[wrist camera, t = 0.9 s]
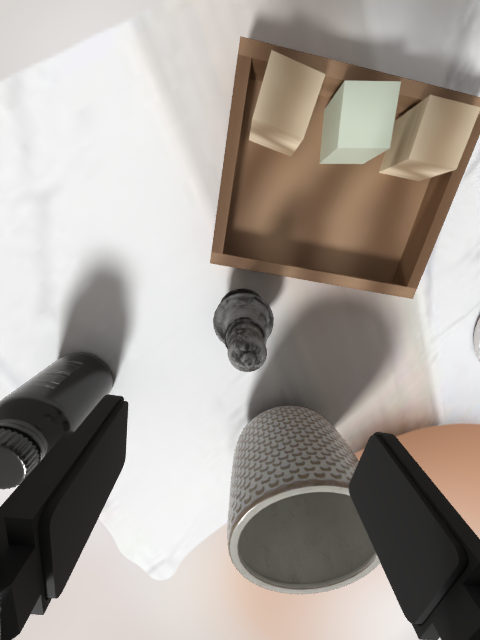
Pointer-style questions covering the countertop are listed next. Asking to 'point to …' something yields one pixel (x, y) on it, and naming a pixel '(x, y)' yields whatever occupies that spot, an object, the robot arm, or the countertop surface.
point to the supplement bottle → (48, 412)
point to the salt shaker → (244, 328)
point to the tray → (327, 192)
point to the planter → (295, 505)
